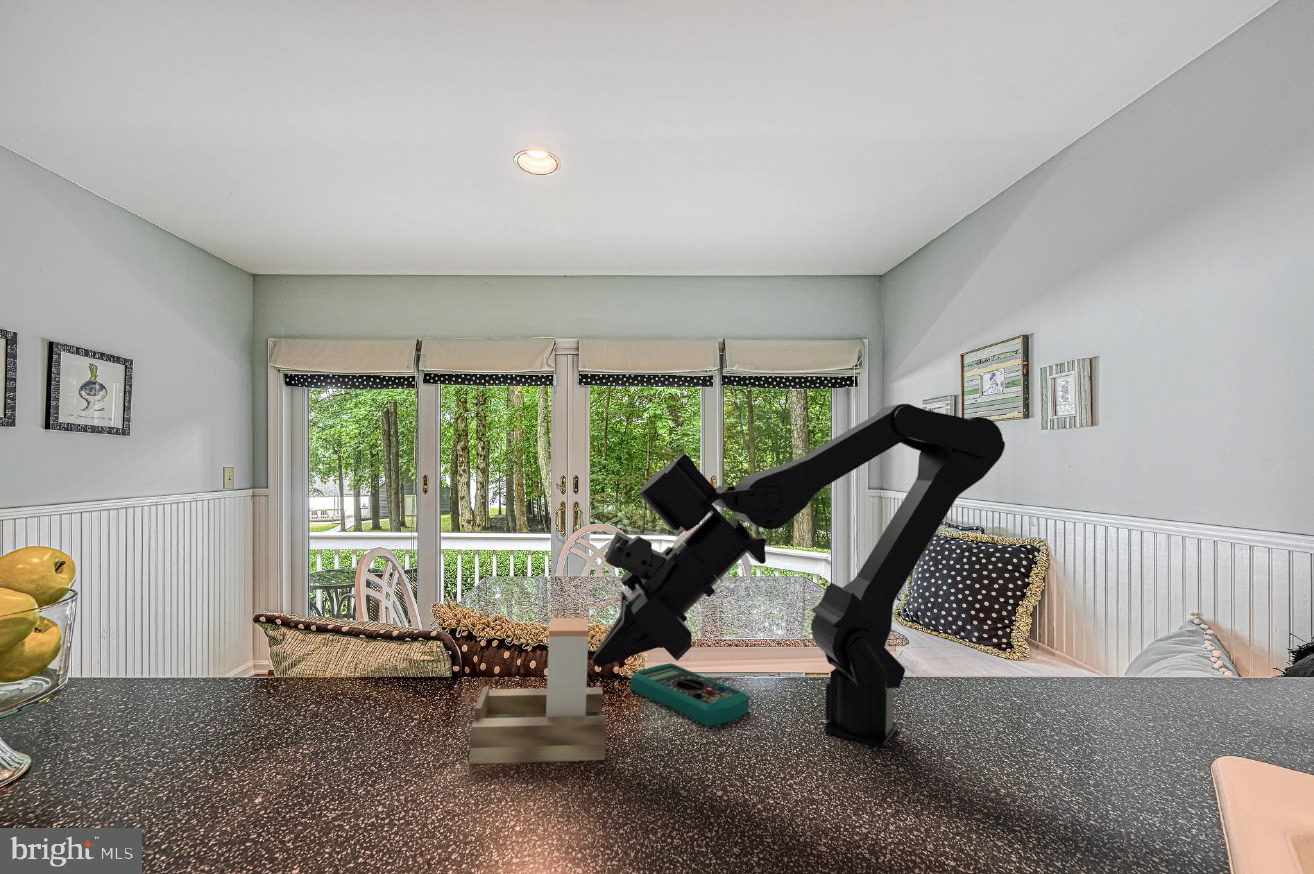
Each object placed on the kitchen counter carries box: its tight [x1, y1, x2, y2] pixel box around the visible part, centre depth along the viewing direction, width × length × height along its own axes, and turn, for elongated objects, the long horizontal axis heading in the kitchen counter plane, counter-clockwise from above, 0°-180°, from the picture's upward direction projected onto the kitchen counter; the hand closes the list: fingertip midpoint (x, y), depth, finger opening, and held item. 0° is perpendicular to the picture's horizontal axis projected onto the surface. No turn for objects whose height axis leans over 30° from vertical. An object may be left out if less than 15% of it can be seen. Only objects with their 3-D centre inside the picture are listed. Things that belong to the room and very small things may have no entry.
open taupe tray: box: [469, 686, 607, 765], centre depth 67 cm, size 13×10×4 cm
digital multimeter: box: [630, 662, 750, 727], centre depth 78 cm, size 7×15×3 cm, turn 41°
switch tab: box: [546, 617, 589, 717], centre depth 67 cm, size 4×5×10 cm
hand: (595, 663), depth 67 cm, fingers closed
